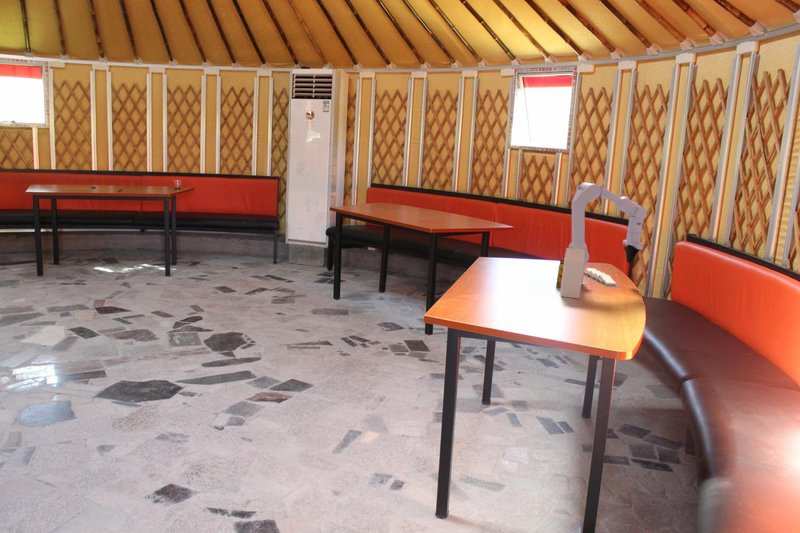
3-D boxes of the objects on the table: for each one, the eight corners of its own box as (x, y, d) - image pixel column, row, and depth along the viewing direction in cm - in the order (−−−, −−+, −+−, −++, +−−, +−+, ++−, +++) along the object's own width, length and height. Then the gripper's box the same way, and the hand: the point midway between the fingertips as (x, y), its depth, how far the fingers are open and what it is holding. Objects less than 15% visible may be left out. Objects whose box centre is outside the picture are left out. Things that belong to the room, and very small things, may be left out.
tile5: (597, 273, 299) (589, 271, 308) (588, 273, 299) (580, 271, 307) (596, 276, 300) (589, 274, 308) (587, 275, 299) (580, 273, 307)
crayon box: (555, 287, 269) (559, 260, 266) (556, 286, 271) (559, 259, 269) (573, 290, 267) (577, 262, 264) (574, 288, 269) (577, 261, 267)
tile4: (601, 276, 294) (595, 268, 302) (592, 275, 294) (586, 268, 301) (601, 278, 295) (594, 270, 302) (592, 278, 294) (585, 270, 302)
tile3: (606, 278, 289) (599, 270, 297) (597, 278, 289) (590, 270, 297) (605, 281, 290) (598, 272, 298) (596, 280, 289) (589, 272, 297)
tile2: (611, 281, 285) (603, 272, 292) (602, 280, 284) (594, 272, 292) (610, 283, 285) (603, 275, 293) (601, 282, 285) (594, 274, 292)
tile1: (616, 283, 280) (608, 274, 288) (606, 282, 279) (599, 274, 287) (615, 285, 281) (607, 277, 288) (606, 285, 280) (598, 276, 288)
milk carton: (579, 298, 250) (585, 251, 247) (560, 296, 252) (566, 249, 248) (578, 295, 257) (584, 248, 254) (560, 293, 258) (565, 246, 255)
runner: (620, 288, 278) (620, 287, 278) (606, 287, 277) (606, 286, 277) (597, 277, 301) (597, 276, 301) (584, 276, 300) (584, 275, 300)
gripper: (651, 235, 275) (646, 266, 277) (634, 230, 289) (630, 260, 291) (635, 234, 274) (631, 265, 276) (620, 229, 288) (615, 259, 291)
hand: (629, 262), depth 284 cm, fingers closed
